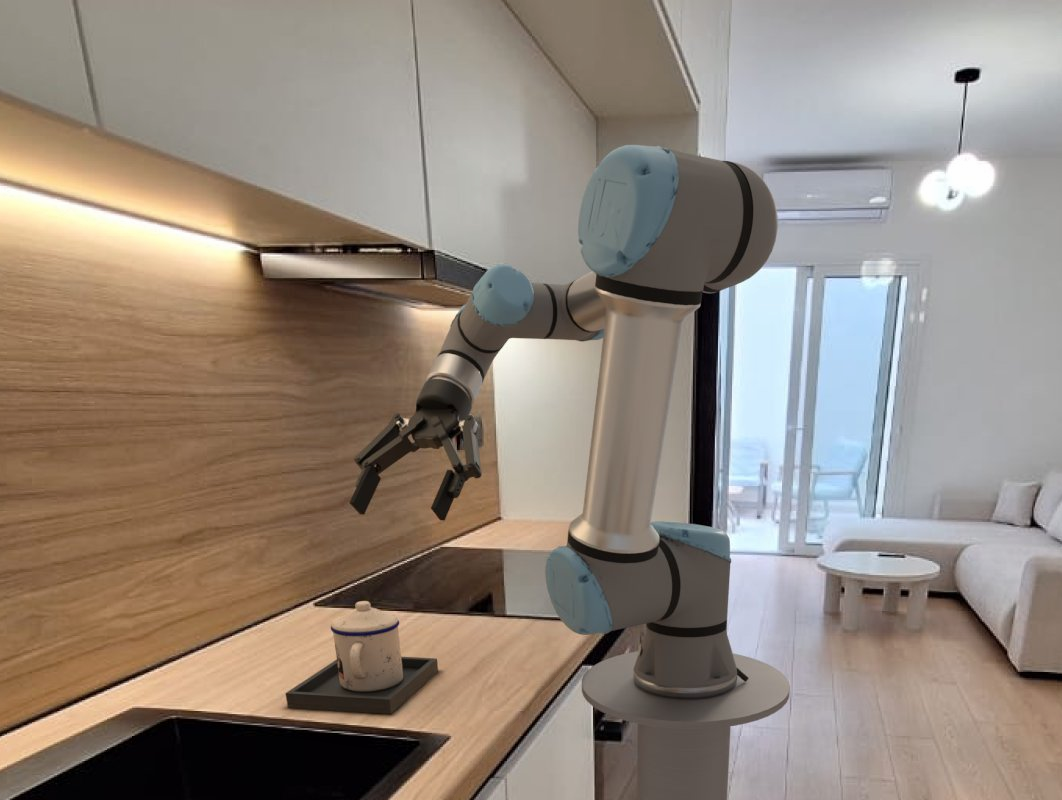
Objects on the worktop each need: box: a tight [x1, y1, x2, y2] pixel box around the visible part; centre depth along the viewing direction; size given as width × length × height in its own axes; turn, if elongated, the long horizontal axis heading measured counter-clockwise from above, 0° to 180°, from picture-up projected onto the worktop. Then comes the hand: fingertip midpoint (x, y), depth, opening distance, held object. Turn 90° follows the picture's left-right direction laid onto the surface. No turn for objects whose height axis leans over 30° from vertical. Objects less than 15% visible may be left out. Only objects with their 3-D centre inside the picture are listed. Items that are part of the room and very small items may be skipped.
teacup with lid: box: [330, 600, 403, 692], centre depth 112 cm, size 12×9×12 cm
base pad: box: [285, 656, 439, 715], centre depth 114 cm, size 15×17×2 cm
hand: (396, 511), depth 113 cm, fingers open, 13 cm apart
